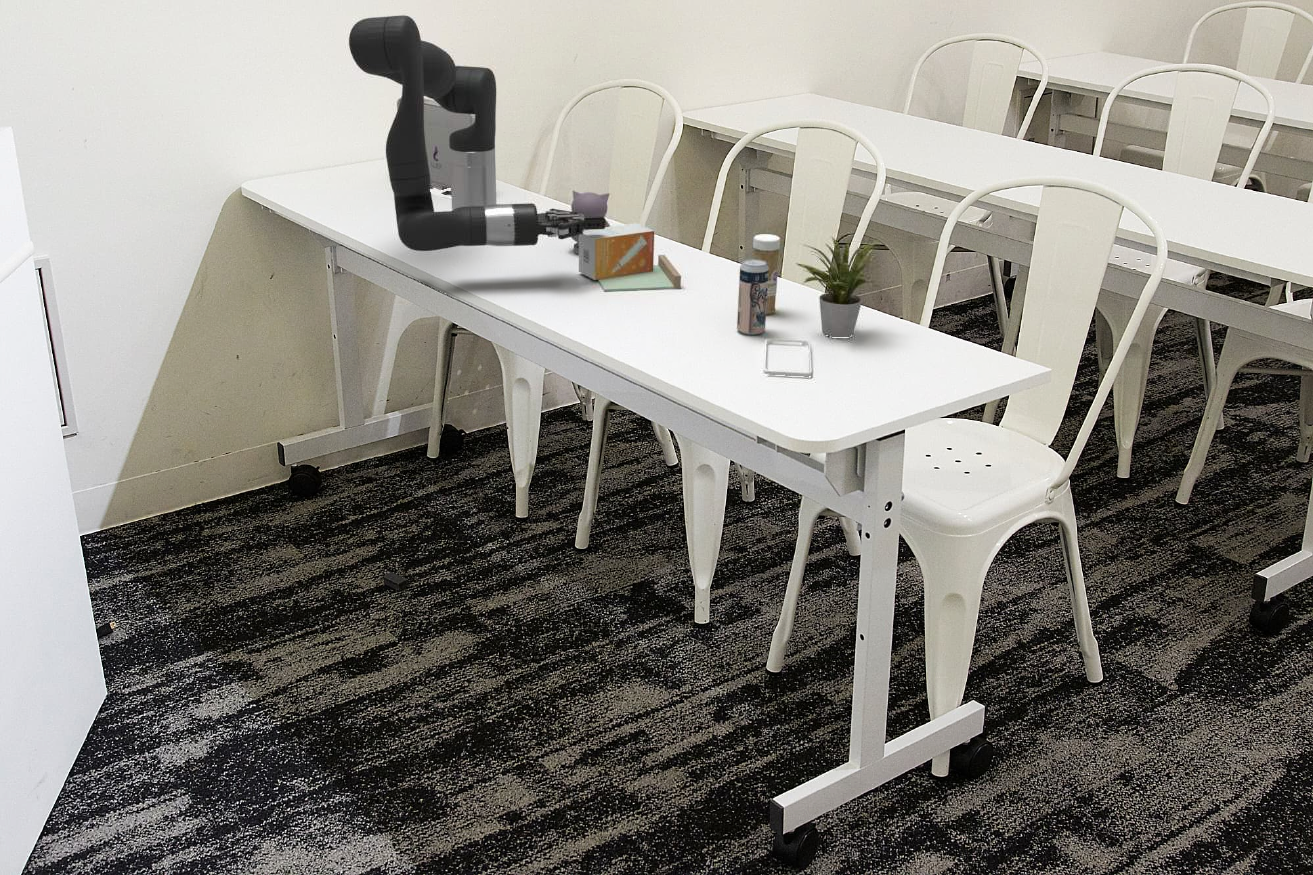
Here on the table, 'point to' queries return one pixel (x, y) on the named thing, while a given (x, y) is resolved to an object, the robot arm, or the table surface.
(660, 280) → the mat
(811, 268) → the house plant
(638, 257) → the small box
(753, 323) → the beer can
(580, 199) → the cat figurine
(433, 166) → the network device
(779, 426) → the table surface
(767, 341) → the white phone case
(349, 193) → the table surface
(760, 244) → the sprinkles bottle
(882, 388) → the table surface
